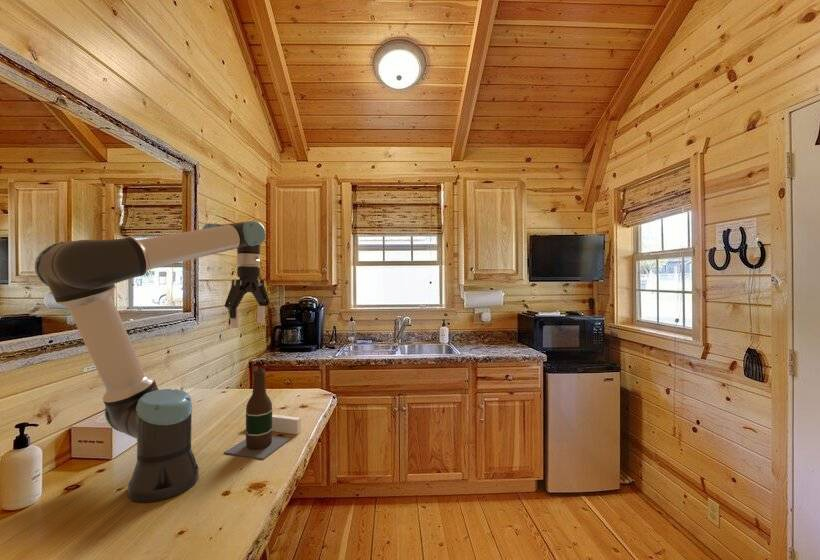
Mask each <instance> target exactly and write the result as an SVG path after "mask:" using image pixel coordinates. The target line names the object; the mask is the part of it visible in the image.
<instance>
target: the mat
mask: <svg viewBox="0 0 820 560" xmlns="http://www.w3.org/2000/svg"><path fill="white" fill-rule="evenodd" d="M291 439H292V438H291V437H284V436H278V435H277V436H276V435H272V443H271V444H270V445H269V446H268V447H267V448H263V449H260V450H249V448H248V447H247V446H246V438H244V439H243V440H242V441H240V442H238V443H236V444H235V445H233V446H231V448H229V449H227V450H225V451H224V452H223V454H225V455H230V456H231V455H232V456H236V457H237V456H238V457H243V458H251V459H257V460H262V461H263V460H266V458H268V457H269V456H271V455H272V454H274V452H276V451H277V450H279V449H280V448H281V447H283V446H284V445H286V444H287V443H288V442H290V441H291Z"/></svg>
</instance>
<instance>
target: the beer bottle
mask: <svg viewBox="0 0 820 560" xmlns="http://www.w3.org/2000/svg"><path fill="white" fill-rule="evenodd" d="M266 373H267V372H266V369H264V368H258V369H255V370H253V372H252V374H253V383H252V392H251V393H252V394H251V396H250V398H249V400H248V401H247V404H246V405H245V406H246V409H245V439H246V446H247V447H248V448H249V450H260V449H263V448H267V447H268V446H269V445H270V444H271V443H272V436H273V431H272V414H273V404H272V401H271V399H270V397H269V396H268V395H267V390H266V387H267V386H266V376H265V374H266Z"/></svg>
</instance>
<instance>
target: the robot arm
mask: <svg viewBox="0 0 820 560" xmlns="http://www.w3.org/2000/svg"><path fill="white" fill-rule="evenodd" d="M266 234H267V232H266V229H265V227H264V225H263V224H262V223H261V222H259V221H256V220H252V221H251V220H249V221H239V222H235V223H223V224H220V223H219V224H218V223H212V222H211V223H206V224H204V225H203V227H202V228H201V229H196V230H190V231H189V230H188V231H183V232H179V233H178V232H176V233H172V234H167V235H161V236H154V237H148V238H142V239H136V238H134V237H131V236H130V237H122V238H112V239H80V240H68V241H59V242H56V243H54V244H51V245H49V246H47V247H45V248H44V249H43V250H42V251H40V252H39V254H38V255H37V257H36V259H35V261H34V272H35V274H36V276H37V278H38V279H39V280H40V282H42V283H43V284H44V285H46V286H47V287H48V288H49V290H50V292H51V294H52V297H53V298H54V300H55V303H56V304H58V305H61V306H64V307H66V308H68V310H69V312H70V315H71V316H72V319H73V321H74V323H75V325H76V328H77V330H78V332H79V333H80V336H81V338H82V340H83V343H84V344H85V347H86V348H87V351H88V353H89V355H90V358H91V359H92V361H93V364H94V366H95V368H96V370H97V372H98V375H99V377H100V379H101V381H102V384H103V385H104V387H105V389H106V391H105V393H104V395H103V396H102V402H103V404H104V406H105V407H104V417H105V420H106V422H107V423H108V424H109V426H110V427H111V428H112V429H114V430H116V431H117V432H120V433H123V434H125V435H128V436H130V437H132V438H134V439H136V464H135V465H134V466H135V467H134V469H133V472H132V475H131V479H130V480H129V482H128V485H127V486H128V487H127V497H128V499H130V500H131V501H133V502H136V503H137V502H138V503H151V502H152V503H153V502H158V501H163V500H166V499H169V498H173V497H175V496H177V495H180V494H182V493H184V492H185V491H188V490H190V488H192V487H193V486H195V485H196V483H197V482H198V481H199V478H200V472H199V470H200V469H199V468H200V467H199V466H198V464H197V460H196V457H195V455H194V453H193V450H192V415H193V414H192V413H193V403H192V398H191V396H190V394H189V393H188V392H186V391H185V390H182V389H177V388H175V389H172V388H164V389H159V388H158V385H157V383H156V380H155V378H154V376H151V375H147V374H146V373H145V371H144V369H143V368H142V365H141V362H140V360H139V358H138V355H137V353H136V351H135V348H134V346H133V343H132V340H131V339H130V336H129V335H128V331H127V330H126V328H125V324H124V323H123V321H122V318H121V315H120V314H119V311H118V308H117V306H116V304H115V301H114V299H113V295H112V294H113V293H114V291H115V290H116V285H115V284H118V283H121V282H124V281H128V280H130V279H135V278H138V277H141V276H145V275H146V274H147V272H148V271H149V270H152V269H158V268H162V267H165V266H169V265H173V264H174V265H175V264H177V263H182V262H186V261H190V260H195V259H198V258H203V257H207V256H212V255H216V254H218V253H219V254H220V253H223V252H228V251H232V250H236V253H237V254H236V257H237V259H236V265H237V268H236V274H237V275H236V276H237V277H239V279H232V280H231V286H230V290H229V292H228V294H227V297H226V300H225V303H224V307H225V308H226V309H228V310H229V318H230V329H239V328H240V309H239V308H238V307H239V305H240V303H241V302H242V300H243V299H244V296H245V294H247V293H251V294H252V295H253V297H254V299H255V301H256V302H257V303H258V305H257V309H256V310H257V311H256V312H257V314H256V315H257V316H256V317H257V318H256V319H257V320H256V322H257V323H256V324H265V323H266V307H267V306H269V304H270V298H269V296H268V292H267V291H266V287H265V280H264V279H259V278H260V277H261V267H260V266H261V244H263V243H264V241H265V240H266V237H267V235H266Z"/></svg>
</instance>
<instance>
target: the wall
mask: <svg viewBox="0 0 820 560" xmlns="http://www.w3.org/2000/svg"><path fill="white" fill-rule="evenodd" d="M301 419H302V418H301V417H297V416H290V415H289V416H288V415H279V414H273V413H272V432H275V433H276V432H277V433H284V434H292V435H299V434H300V433H302V432H301V431H302V429H301V428H302V425H301V424H302V422H301V421H302V420H301Z"/></svg>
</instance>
